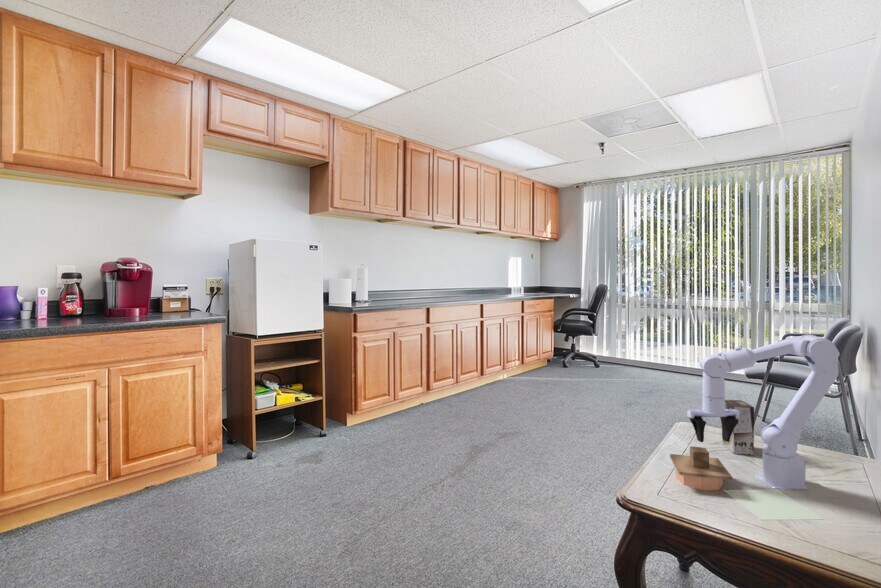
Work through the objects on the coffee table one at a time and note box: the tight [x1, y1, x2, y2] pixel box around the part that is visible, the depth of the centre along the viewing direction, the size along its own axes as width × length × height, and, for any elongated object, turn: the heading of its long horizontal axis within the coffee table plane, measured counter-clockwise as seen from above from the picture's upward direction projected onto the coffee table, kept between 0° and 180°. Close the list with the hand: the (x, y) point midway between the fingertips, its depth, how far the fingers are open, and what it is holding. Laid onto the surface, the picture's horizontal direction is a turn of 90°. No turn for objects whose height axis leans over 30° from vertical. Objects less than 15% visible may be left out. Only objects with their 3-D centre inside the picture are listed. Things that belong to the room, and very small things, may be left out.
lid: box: [669, 446, 734, 481], centre depth 127 cm, size 13×13×5 cm
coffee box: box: [722, 399, 755, 456], centre depth 151 cm, size 9×6×16 cm
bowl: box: [675, 468, 724, 491], centre depth 128 cm, size 11×11×4 cm
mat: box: [722, 489, 824, 521], centre depth 114 cm, size 15×15×1 cm
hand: (713, 440), depth 132 cm, fingers open, 7 cm apart
